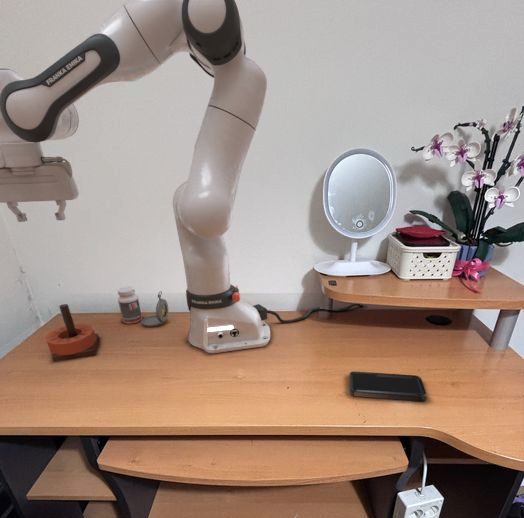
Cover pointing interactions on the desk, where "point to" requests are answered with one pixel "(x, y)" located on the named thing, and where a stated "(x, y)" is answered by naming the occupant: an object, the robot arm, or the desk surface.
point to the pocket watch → (157, 314)
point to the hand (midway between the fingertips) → (42, 220)
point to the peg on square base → (73, 333)
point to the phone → (387, 386)
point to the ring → (71, 340)
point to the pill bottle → (129, 305)
